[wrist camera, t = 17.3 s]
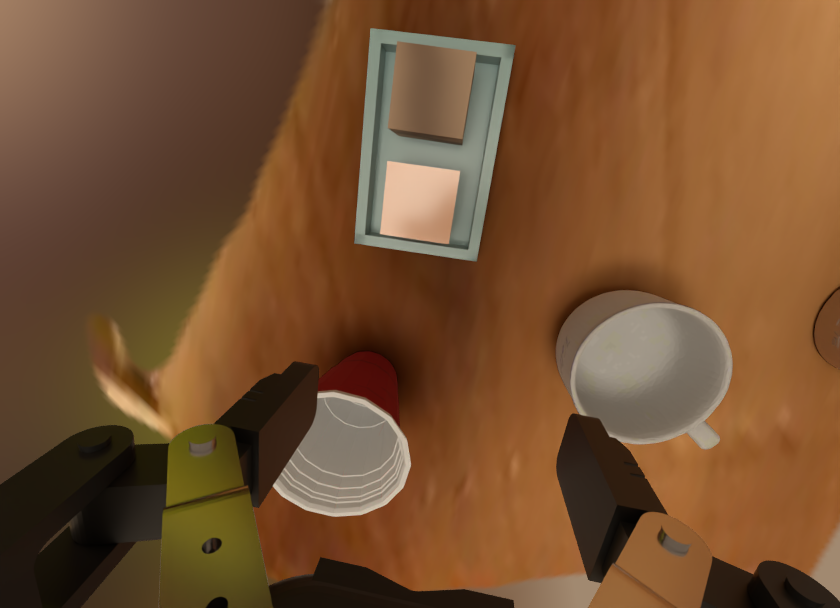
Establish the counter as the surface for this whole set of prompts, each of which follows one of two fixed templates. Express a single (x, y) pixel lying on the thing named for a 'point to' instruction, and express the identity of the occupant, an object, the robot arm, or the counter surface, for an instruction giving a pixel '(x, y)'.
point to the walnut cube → (431, 92)
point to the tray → (432, 143)
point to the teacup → (644, 367)
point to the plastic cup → (350, 442)
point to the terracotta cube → (419, 202)
